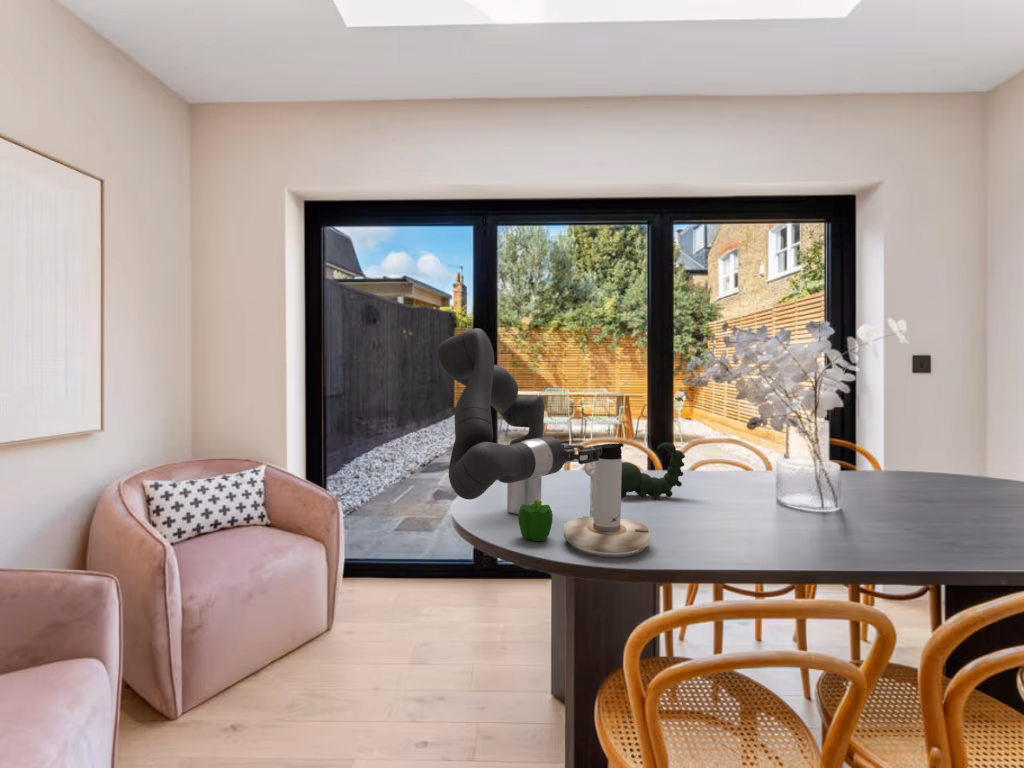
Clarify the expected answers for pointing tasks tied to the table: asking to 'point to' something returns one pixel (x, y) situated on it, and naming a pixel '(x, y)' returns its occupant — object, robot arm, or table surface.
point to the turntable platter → (607, 535)
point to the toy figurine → (652, 485)
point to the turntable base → (606, 554)
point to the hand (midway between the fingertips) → (583, 447)
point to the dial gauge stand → (590, 472)
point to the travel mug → (608, 488)
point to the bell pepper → (535, 521)
